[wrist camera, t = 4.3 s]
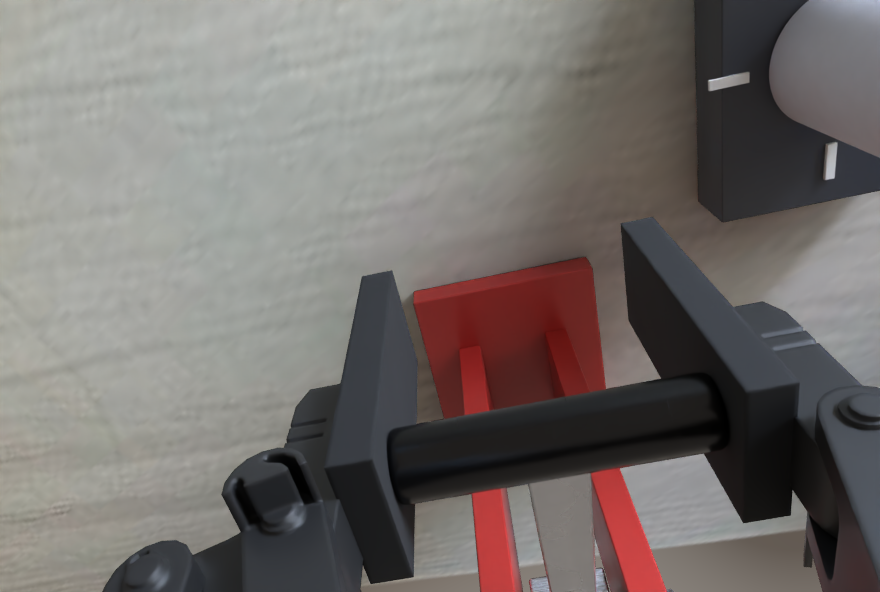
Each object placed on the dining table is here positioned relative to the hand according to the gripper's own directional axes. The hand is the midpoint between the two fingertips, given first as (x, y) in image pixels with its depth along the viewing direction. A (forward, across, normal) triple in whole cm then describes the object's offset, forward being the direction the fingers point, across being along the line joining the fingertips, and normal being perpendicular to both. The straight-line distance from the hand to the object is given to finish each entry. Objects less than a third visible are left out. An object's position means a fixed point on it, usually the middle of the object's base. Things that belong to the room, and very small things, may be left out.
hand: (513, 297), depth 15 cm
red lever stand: (+12, 0, -10) cm, 16 cm away
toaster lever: (-2, 0, -5) cm, 6 cm away
